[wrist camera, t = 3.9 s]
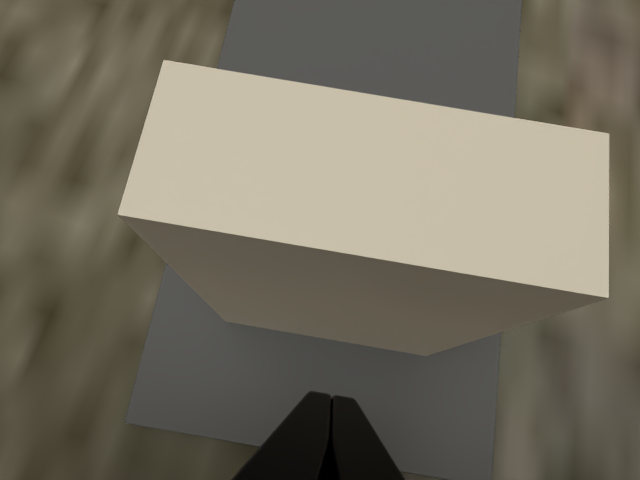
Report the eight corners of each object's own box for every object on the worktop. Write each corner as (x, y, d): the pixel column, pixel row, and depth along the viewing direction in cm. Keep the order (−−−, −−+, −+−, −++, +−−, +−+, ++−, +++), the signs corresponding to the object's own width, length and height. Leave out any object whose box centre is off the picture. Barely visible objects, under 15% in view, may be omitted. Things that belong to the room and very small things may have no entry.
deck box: (426, 356, 18) (608, 297, 7) (225, 321, 18) (118, 214, 7) (433, 282, 19) (608, 133, 8) (241, 249, 19) (164, 59, 8)
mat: (486, 485, 17) (491, 487, 17) (128, 422, 17) (124, 422, 17) (519, -6, 23) (522, -13, 22) (250, -50, 23) (249, -57, 23)
